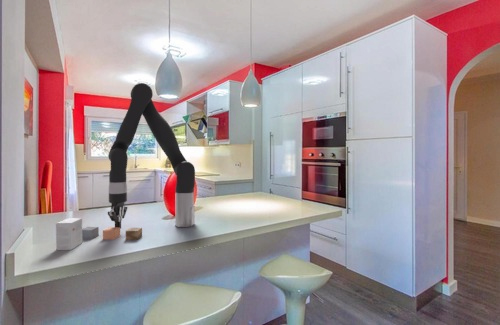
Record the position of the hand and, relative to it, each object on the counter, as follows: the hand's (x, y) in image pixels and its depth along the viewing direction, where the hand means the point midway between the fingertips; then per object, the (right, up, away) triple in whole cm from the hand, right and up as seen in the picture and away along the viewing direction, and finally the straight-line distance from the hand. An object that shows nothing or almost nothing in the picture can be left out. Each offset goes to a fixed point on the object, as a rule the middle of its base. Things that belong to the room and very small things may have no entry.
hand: (118, 229), depth 120 cm
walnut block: (+10, -3, -6) cm, 12 cm away
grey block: (-10, -2, -5) cm, 11 cm away
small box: (-10, -3, -17) cm, 20 cm away
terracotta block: (0, -2, -6) cm, 6 cm away
